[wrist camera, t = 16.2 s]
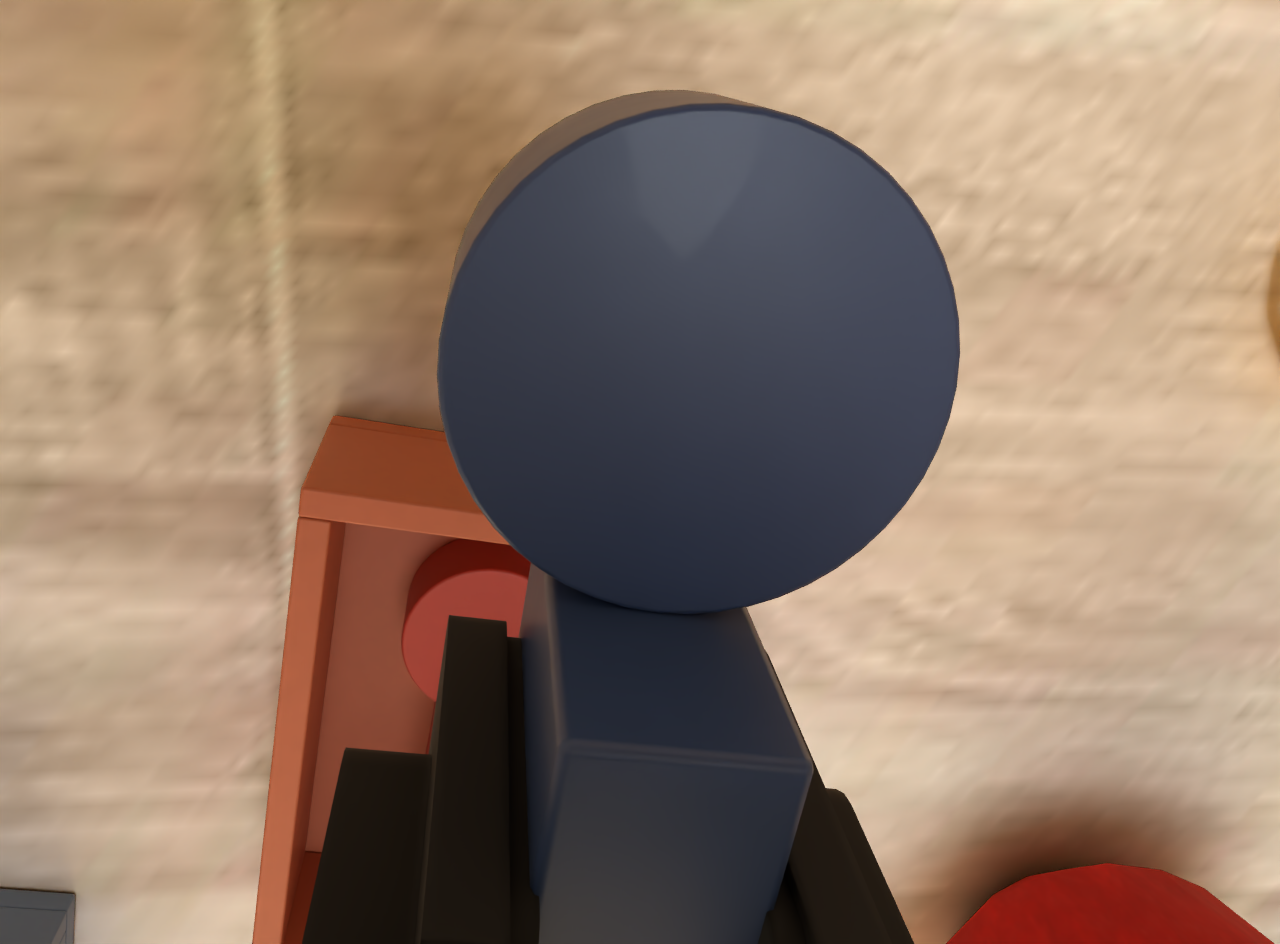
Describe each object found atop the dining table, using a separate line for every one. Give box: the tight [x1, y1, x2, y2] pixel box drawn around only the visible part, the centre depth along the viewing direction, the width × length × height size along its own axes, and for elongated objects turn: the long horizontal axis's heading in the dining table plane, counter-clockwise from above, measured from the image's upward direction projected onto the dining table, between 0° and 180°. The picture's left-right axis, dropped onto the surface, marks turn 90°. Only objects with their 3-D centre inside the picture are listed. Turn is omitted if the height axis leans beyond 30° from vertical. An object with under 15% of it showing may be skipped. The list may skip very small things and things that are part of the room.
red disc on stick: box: [401, 538, 531, 754], centre depth 24 cm, size 9×4×4 cm, turn 168°
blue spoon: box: [437, 90, 960, 944], centre depth 8 cm, size 9×4×4 cm, turn 169°
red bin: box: [252, 416, 510, 944], centre depth 24 cm, size 12×8×4 cm, turn 168°
